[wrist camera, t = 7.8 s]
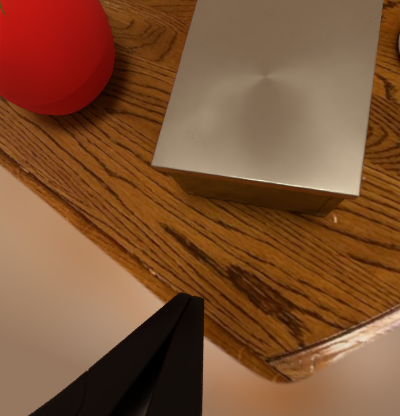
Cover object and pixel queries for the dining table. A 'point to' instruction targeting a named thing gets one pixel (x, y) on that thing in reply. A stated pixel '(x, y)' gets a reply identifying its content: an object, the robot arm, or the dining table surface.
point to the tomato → (54, 54)
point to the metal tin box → (258, 195)
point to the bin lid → (274, 94)
